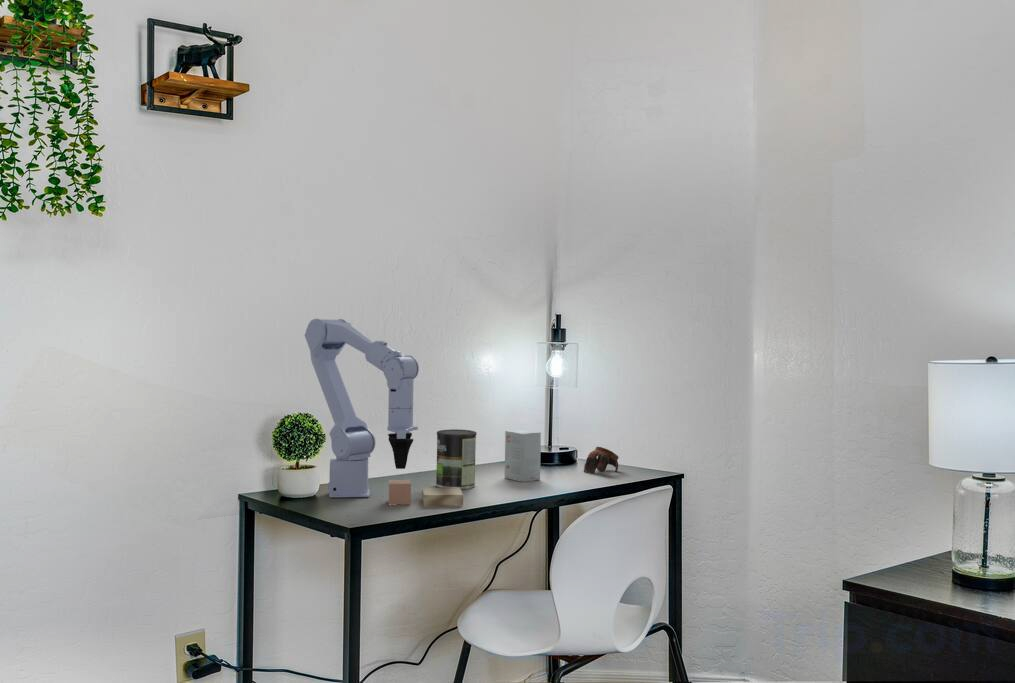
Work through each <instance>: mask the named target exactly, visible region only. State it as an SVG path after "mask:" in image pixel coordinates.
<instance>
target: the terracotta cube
mask: <svg viewBox="0 0 1015 683" xmlns="http://www.w3.org/2000/svg"><path fill="white" fill-rule="evenodd" d="M411 492H412V482H411V479H389V480H388V505H389V504H391V505H390V506H393V505H392V504H411V503H412V493H411Z"/></svg>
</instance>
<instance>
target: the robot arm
mask: <svg viewBox="0 0 1015 683" xmlns="http://www.w3.org/2000/svg"><path fill="white" fill-rule="evenodd" d="M304 337H305V340H306V342H307V343H306V344H307V346H308V349H309V351H310V353H309V354H310V361H311V364H312V367H313V370H314V372H315V374H316V378H317V381H318V383H319V384H320V388H321V391H322V392H323V396H324V399H325V401H326V405H327V407H328V409H329V412H330V414H331V418H332V419H333V422H334V425H333V426H332V428H331V429H330V431H329V437H330V440H331V450H332V453H333V455H334V456H335V458H330V460H329V481H328V491H329V493H328V495H329V496H328V497H329V498H369V497H370V496H371V495H370V494H371V493H370V492H371V490H370V489H369V458H371V454H372V453H373V452H374V450H375V448H376V437H375V435H374V433H373V432H372V431H371V430H370V429H369V427H368V425H367V423H366V421H364V420H362V419H361V418H359V417H358V416H357V414H356V412H355V410H354V407H353V403H352V402H351V398H350V396H349V394H348V392H347V388H346V386H345V383H344V381H343V378H342V375H341V373H340V370H339V368H338V364H337V362H336V358H337V356H338V355H340V353H341V351H343V348H344V347H345V346H346V344H347V345H349V346H350V347H352V348H354V349H356V350H357V351H359V352H360V353H363V354H364V358H365V360H366V362H368V363H370V364H371V365H372V366H374V367H375V368H377V369H378V370H380V371H382V372H383V375H384V378H385V379H386V386H387V387H388V409H387V410H388V411H387V412H388V413H387V414H388V419H387V420H388V422H387V423H388V424H387V428H386V429H387V431H389V432H390V433H388V434H387V436H388V442H389V444H390V446H391V449H392V453H393V460H394V464H395V465H394V466H395V469H396V470H402V469H403V470H404V469H406V466H407V462H408V457H409V456H408V455H409V453H410V448H411V446H412V444H413V442H414V438H412V435H413V433H412V431H417V430H418V429H419V426H418V425H414V379H415V378H417V376H418V374H419V371H420V370H419V364H418V363H419V362H418V361H417V359H415V358H414V356H413V355H403V354H401V353H402V352H401V351H400V350H395V349H394V348H392V347H390V346H389V345H388V342H387V341H385V340H376V341H373V340H371V339H369V337H367V336H366V335H364V334H363V333H361V332H360V331H359V330H358V329H356V328H355V327H353V325H352V323H351V322H348V321H347V320H345V319H341V318H338V319H323V318H322V319H320V318H313V319H312V320H310V321H309V323H308V324H307V327H306V330H305V334H304ZM391 432H392V433H391Z"/></svg>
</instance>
